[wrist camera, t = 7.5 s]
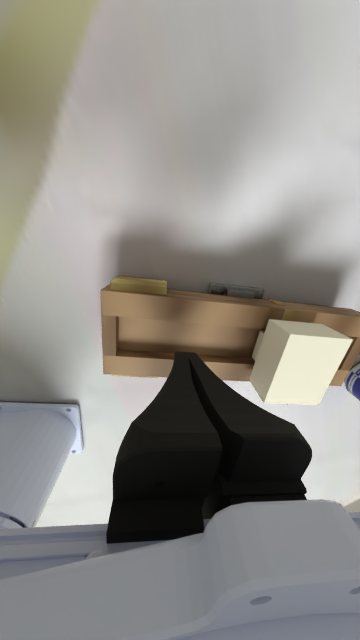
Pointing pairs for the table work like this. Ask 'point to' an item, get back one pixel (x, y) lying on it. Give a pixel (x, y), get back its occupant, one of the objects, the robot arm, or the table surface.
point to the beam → (200, 328)
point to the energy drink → (353, 381)
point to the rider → (296, 361)
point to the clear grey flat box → (235, 291)
